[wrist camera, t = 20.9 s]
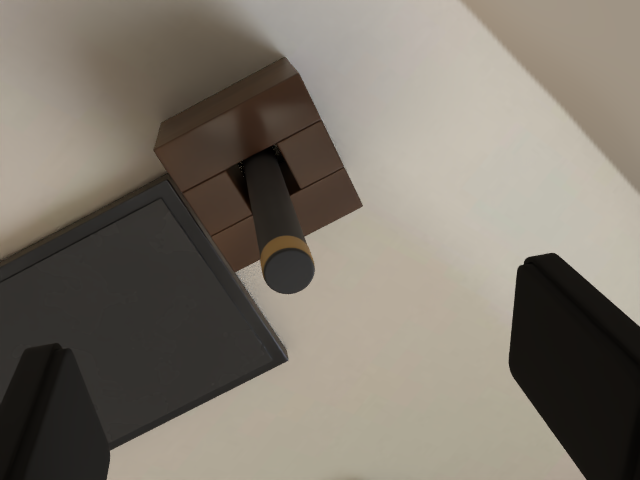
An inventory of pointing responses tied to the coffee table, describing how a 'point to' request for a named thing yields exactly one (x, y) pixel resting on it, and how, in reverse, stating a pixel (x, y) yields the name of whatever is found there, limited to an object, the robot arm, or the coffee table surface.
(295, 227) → the stylus
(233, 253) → the holder
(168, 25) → the coffee table surface
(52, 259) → the tablet
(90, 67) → the coffee table surface
